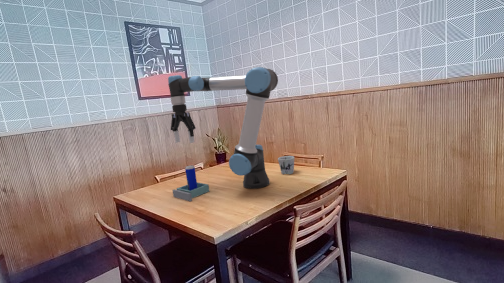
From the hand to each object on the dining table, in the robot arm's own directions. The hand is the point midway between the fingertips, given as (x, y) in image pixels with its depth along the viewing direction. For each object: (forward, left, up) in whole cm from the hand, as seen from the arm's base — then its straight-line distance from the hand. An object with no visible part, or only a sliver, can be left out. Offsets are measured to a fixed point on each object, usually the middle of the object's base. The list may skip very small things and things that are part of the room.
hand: (184, 142), depth 156 cm
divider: (-6, +10, -29) cm, 31 cm away
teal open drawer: (-4, +2, -29) cm, 29 cm away
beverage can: (-4, +2, -28) cm, 29 cm away
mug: (-30, -53, -29) cm, 67 cm away
